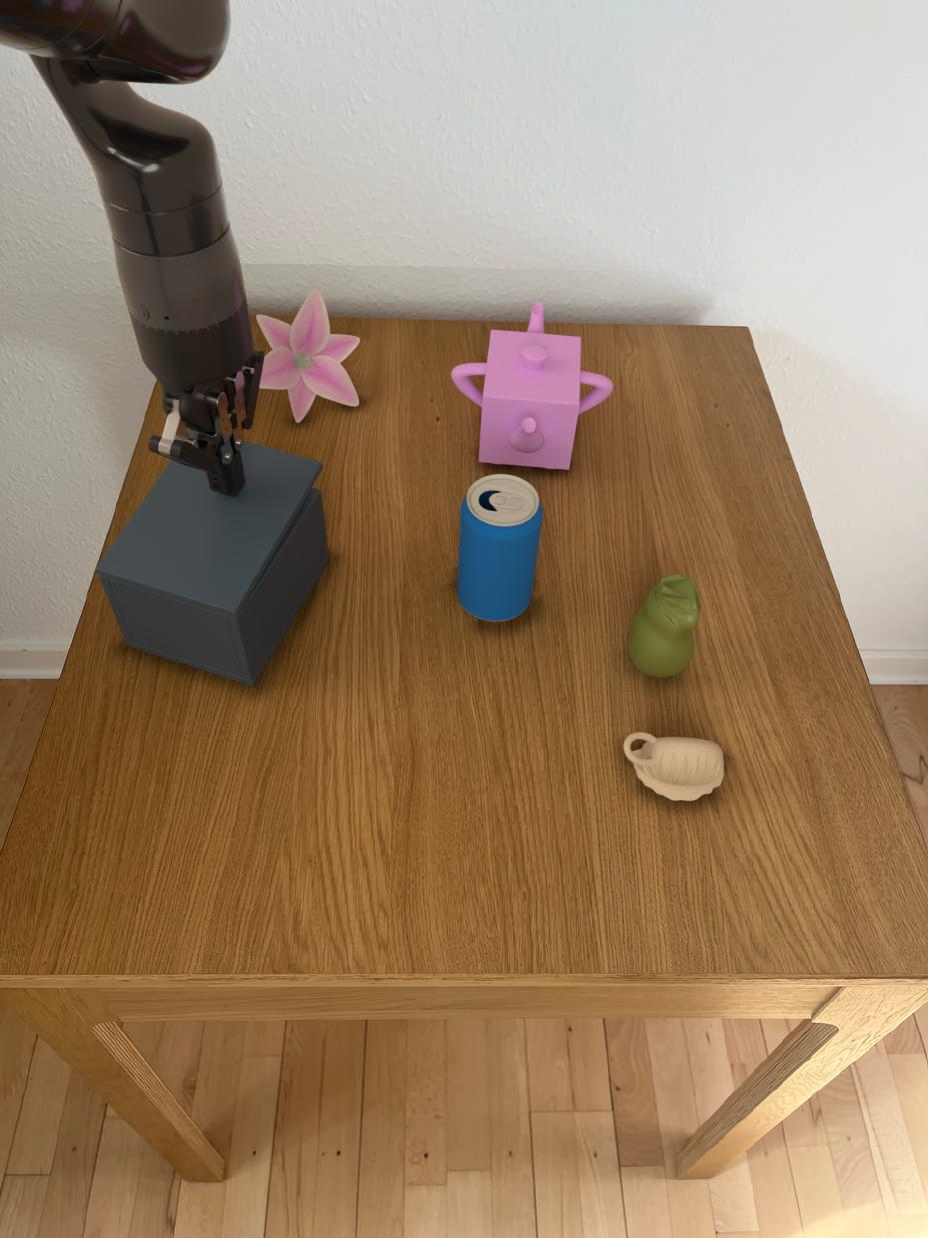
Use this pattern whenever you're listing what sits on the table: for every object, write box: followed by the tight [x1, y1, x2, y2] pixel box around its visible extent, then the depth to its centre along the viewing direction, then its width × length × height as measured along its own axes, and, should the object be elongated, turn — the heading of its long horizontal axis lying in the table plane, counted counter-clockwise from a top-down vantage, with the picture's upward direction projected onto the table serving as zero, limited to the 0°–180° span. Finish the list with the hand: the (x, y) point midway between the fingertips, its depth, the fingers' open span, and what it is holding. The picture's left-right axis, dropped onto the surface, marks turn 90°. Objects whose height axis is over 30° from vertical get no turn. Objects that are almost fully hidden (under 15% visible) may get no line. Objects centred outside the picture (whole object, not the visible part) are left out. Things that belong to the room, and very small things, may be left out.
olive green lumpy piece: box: [627, 574, 702, 679], centre depth 74 cm, size 6×5×10 cm
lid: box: [95, 438, 324, 618], centre depth 73 cm, size 15×12×1 cm
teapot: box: [450, 301, 614, 471], centre depth 91 cm, size 15×13×11 cm
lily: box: [255, 287, 361, 424], centre depth 96 cm, size 12×12×10 cm
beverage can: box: [456, 473, 544, 622], centre depth 77 cm, size 6×6×12 cm
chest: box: [98, 487, 330, 688], centre depth 77 cm, size 15×12×9 cm
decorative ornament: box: [622, 731, 725, 802], centre depth 70 cm, size 4×8×5 cm, turn 84°
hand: (229, 488), depth 74 cm, fingers closed
